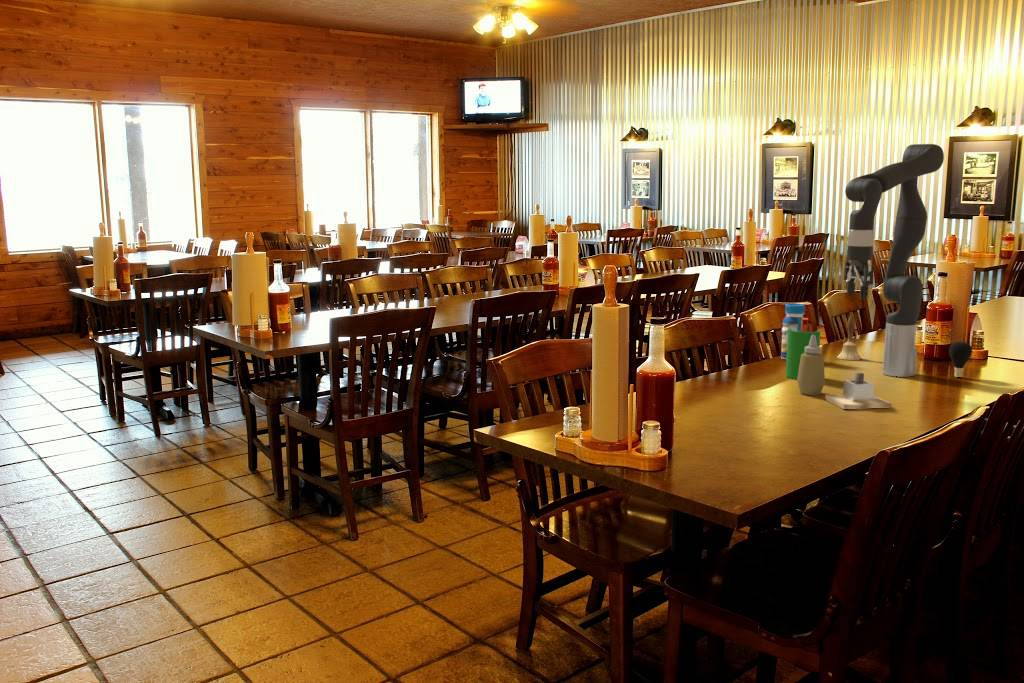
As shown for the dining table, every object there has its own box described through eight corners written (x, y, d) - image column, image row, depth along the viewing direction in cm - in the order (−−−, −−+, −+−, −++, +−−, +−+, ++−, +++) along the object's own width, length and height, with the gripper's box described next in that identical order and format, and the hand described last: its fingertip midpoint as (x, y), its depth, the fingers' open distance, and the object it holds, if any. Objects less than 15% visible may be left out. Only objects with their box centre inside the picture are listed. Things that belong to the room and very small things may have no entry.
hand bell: (834, 355, 327) (837, 313, 324) (858, 356, 326) (861, 313, 323) (839, 360, 319) (842, 316, 316) (863, 360, 318) (866, 316, 315)
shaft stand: (870, 398, 263) (872, 368, 262) (891, 408, 252) (893, 377, 250) (825, 399, 262) (826, 369, 260) (844, 409, 250) (846, 378, 249)
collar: (862, 396, 260) (863, 379, 259) (872, 401, 254) (874, 384, 253) (843, 396, 259) (844, 380, 258) (852, 401, 253) (854, 384, 252)
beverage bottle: (807, 361, 317) (810, 306, 313) (784, 361, 317) (786, 306, 314) (800, 356, 325) (803, 302, 322) (777, 356, 325) (780, 303, 322)
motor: (814, 374, 296) (818, 315, 292) (821, 380, 287) (824, 319, 284) (783, 374, 297) (786, 315, 293) (789, 380, 288) (792, 319, 285)
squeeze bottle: (825, 391, 272) (829, 334, 268) (822, 397, 264) (826, 338, 261) (798, 389, 275) (801, 332, 272) (794, 395, 268) (797, 336, 265)
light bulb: (947, 378, 288) (950, 342, 286) (946, 374, 294) (949, 339, 292) (970, 380, 286) (974, 343, 284) (968, 376, 292) (971, 340, 290)
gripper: (883, 245, 267) (880, 299, 270) (860, 242, 281) (857, 293, 284) (859, 246, 266) (856, 299, 269) (838, 243, 280) (834, 293, 283)
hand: (856, 296), depth 276 cm, fingers open, 8 cm apart
